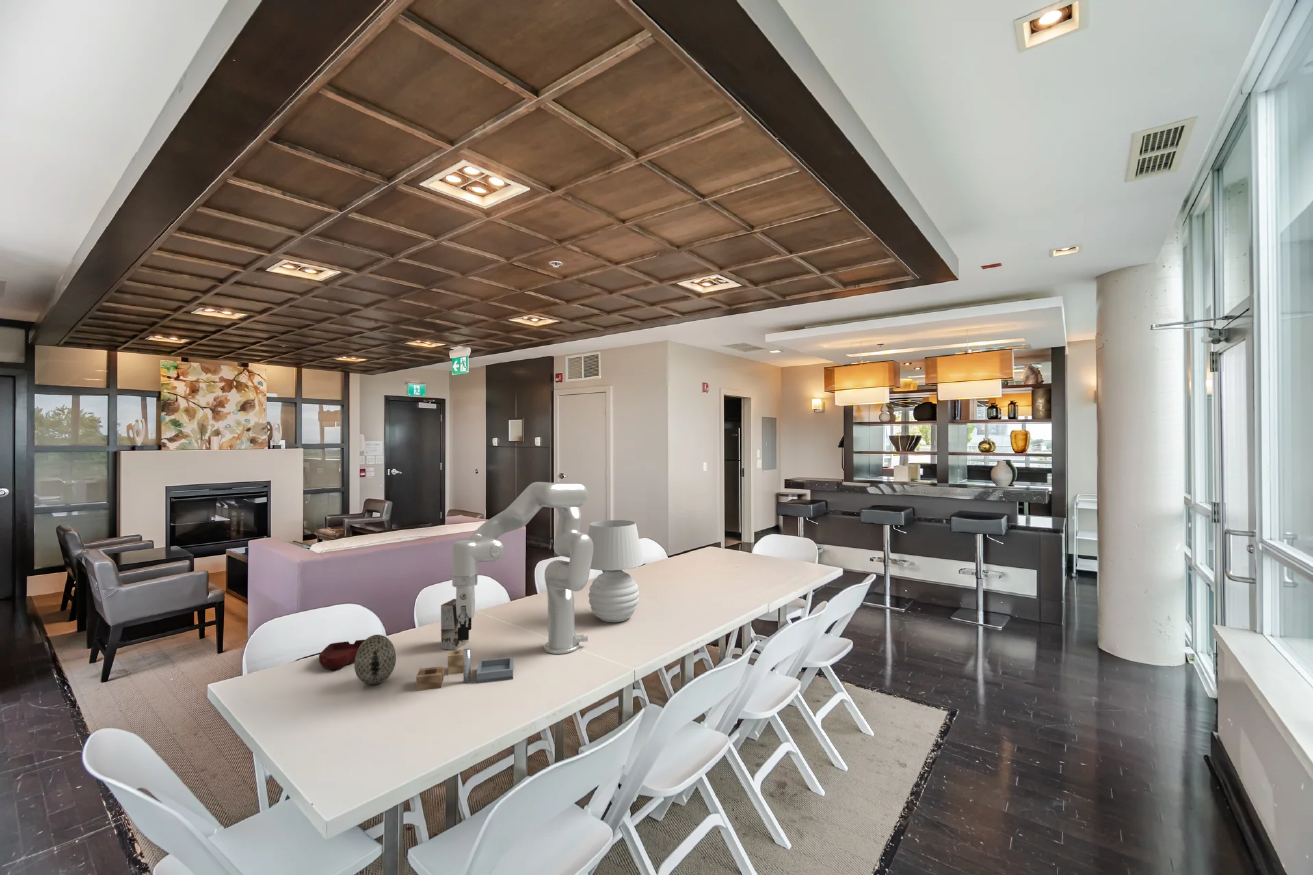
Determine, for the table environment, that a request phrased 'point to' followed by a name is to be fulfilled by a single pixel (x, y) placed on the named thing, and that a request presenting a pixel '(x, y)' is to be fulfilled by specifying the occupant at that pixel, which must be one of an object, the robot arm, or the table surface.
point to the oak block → (455, 662)
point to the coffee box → (450, 626)
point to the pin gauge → (466, 666)
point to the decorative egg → (375, 659)
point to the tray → (495, 670)
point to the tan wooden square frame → (430, 678)
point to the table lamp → (614, 569)
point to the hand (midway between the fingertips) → (464, 634)
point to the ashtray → (339, 654)
